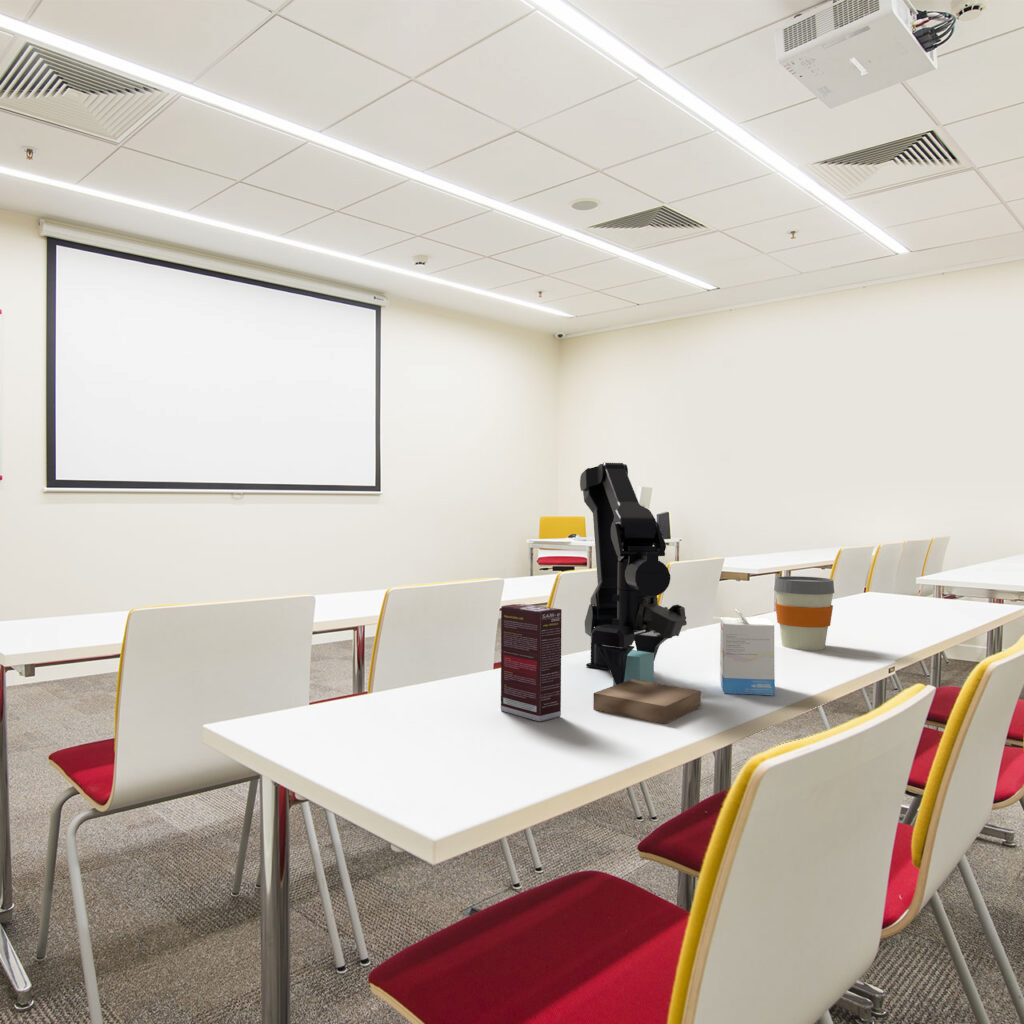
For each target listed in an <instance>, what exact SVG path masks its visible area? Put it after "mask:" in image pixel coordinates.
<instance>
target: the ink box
mask: <svg viewBox="0 0 1024 1024" xmlns="http://www.w3.org/2000/svg"><path fill="white" fill-rule="evenodd" d="M734 611H735V612H736V613H737V614H738V615H739V616H740V617H726V616H725V617H724V616H721V617H720V638H719V639H720V641H719V642H720V645H719V647H720V649H719V651H720V652H719V684H720V686H721V689H722V692H723V694H734V695H736V694H737V695H740V694H741V695H758V696H759V695H760V696H761V695H763V696H775V694H776V693H775V690H776V689H775V688H776V687H775V683H776V681H775V680H776V679H775V678H776V677H775V675H776V674H775V670H776V669H775V625H774V623H773V622H772V620H771V619H769V618H766V617H765V618H763V617H762V618H761V617H746V616H745V615H744V614H742V612H740V611H739V610H738V609H737V607H736V608H734Z"/></svg>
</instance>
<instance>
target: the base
mask: <svg viewBox="0 0 1024 1024" xmlns="http://www.w3.org/2000/svg"><path fill="white" fill-rule="evenodd" d="M592 702H593V711H600V712H605V713H609V714H614V715H620V716H625V717H629V718H635V719H640V720H645V721H649V722H654V723H659V724H664V725H665V724H668V723H670V722H672V721H674V720H677V719H679V718H681V717H683V716H684V715H687V714H689V713H691V712H693V711H695V710H697V709H699V708H702V690H701V689H693V688H689V687H688V688H687V687H682V686H674V685H670V684H664V683H657V682H654V683H653V682H647V681H641V680H635V679H631V680H629V681H626V682H623V683H620V684H617V685H615V686H613V685H612V686H609V687H607V688H604V689H602V690H598V691H595V692H593V701H592Z"/></svg>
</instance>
